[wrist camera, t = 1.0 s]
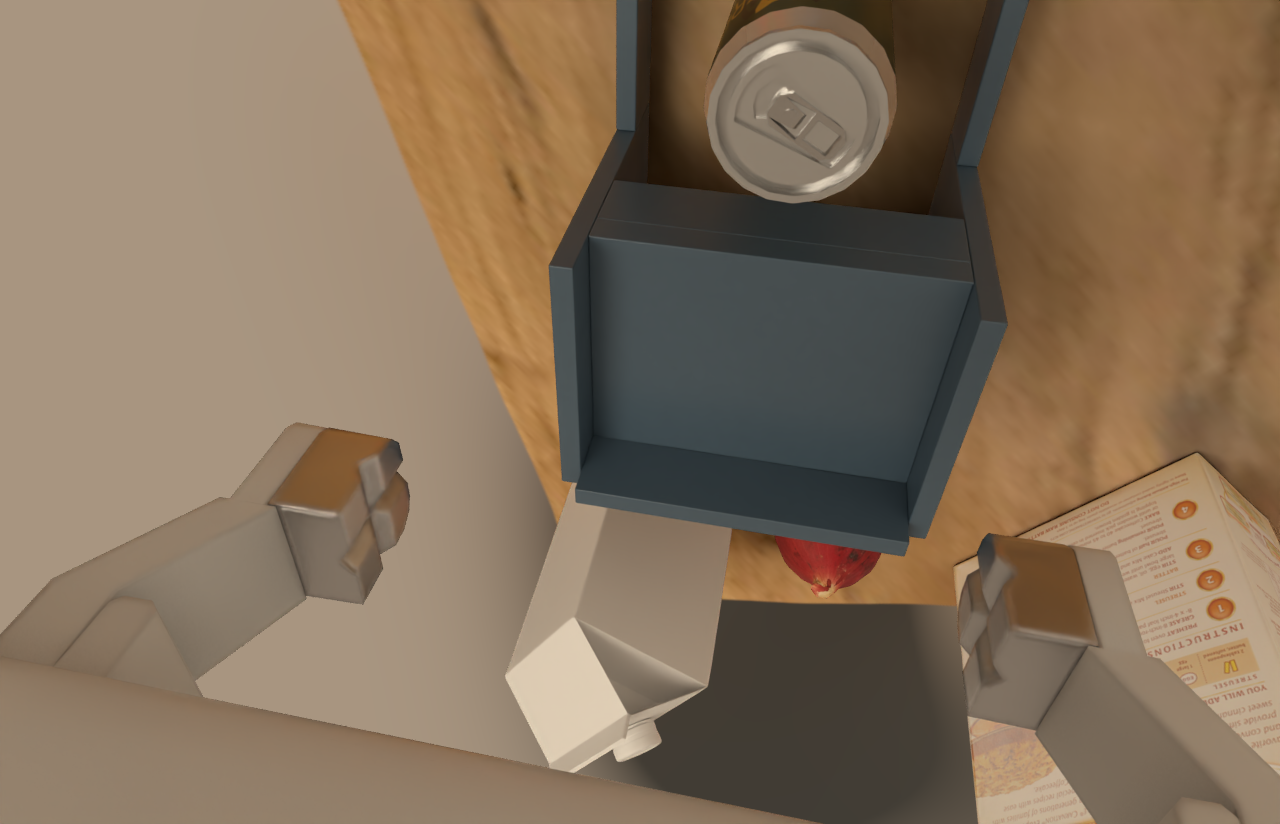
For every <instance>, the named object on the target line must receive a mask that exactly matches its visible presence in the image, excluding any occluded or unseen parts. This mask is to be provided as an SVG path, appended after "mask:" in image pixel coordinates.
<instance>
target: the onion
mask: <svg viewBox="0 0 1280 824" xmlns="http://www.w3.org/2000/svg"><path fill="white" fill-rule="evenodd" d="M775 540H776V542H777V545H778V547H779V549H780V552H781V554H782V557H783V559H784V561H785V562H786V564H787V565H788V567H789V568H791V569H792V570H793V571H794V572H795V573H796V574H797V575H798V576H799V577H800V578H801V579H803V580H804V581H806V582H808V583H810V584H812V585H811V590H812V591H813V593H814V594H815V595H816V596H817V598H826V599H827V598H829V597H830V596H831V595H832V594H833V593H835V592H836V591H837V590H838V589H840V588H844V587H848V586H851V585H853V584H855V583H856V582H858V581H859V580H860V579H861V578H863V577H864V576H866V575H867V574H869V573H870V572H871V570H872V569H873V568H874V567H875V565H876V563H877V561H878V559H879V557H880V555H881V553H880V552H873V551H867V550H861V549H855V548H849V547H843V546H837V545H831V544H825V543H818V542H812V541H806V540H800V539H794V538H788V537H782V536H776V535H775Z"/></svg>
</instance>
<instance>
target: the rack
mask: <svg viewBox="0 0 1280 824" xmlns="http://www.w3.org/2000/svg"><path fill="white" fill-rule="evenodd" d="M1028 3H1029V0H988V1H987V5H986V9H985V12H984V16H983V20H982V23H981V27H980V30H979V34H978V38H977V41H976V45H975V48H974V52H973V56H972V59H971V63H970V66H969V70H968V74H967V77H966V81H965V85H964V88H963V92H962V95H961V99H960V103H959V106H958V110H957V113H956V117H955V121H954V124H953V128H952V133H951V135H950V138H949V142H948V146H947V149H946V153H945V156H944V160H943V164H942V167H941V171H940V175H939V178H938V182H937V185H936V189H935V193H934V196H933V200H932V203H931V207H930V211H929V214H928V215H921V214H912V213H903V212H894V211H885V210H877V209H868V208H859V207H850V206H841V205H832V204H823V203H814V202H800V203H787V202H781V201H775V200H769V199H765V198H763V197H761V196H752V195H744V194H735V193H726V192H717V191H708V190H699V189H690V188H682V187H673V186H664V185H655V184H647V175H648V138H649V99H650V63H651V26H652V0H617V38H616V128H617V131H616V133H615V135H614V137H613V139H612V141H611V143H610V145H609V147H608V149H607V151H606V153H605V155H604V157H603V159H602V161H601V163H600V165H599V167H598V169H597V171H596V173H595V175H594V177H593V179H592V181H591V183H590V185H589V187H588V188H587V190H586V192H585V194H584V196H583V198H582V200H581V202H580V204H579V206H578V208H577V210H576V212H575V214H574V216H573V218H572V220H571V222H570V224H569V226H568V228H567V230H566V232H565V234H564V236H563V238H562V240H561V242H560V244H559V246H558V248H557V250H556V252H555V254H554V256H553V258H552V260H551V262H550V264H549V277H550V293H551V310H552V326H553V342H554V358H555V374H556V390H557V406H558V422H559V438H560V455H561V471H562V481H567V482H573V483H577V484H576V487H575V502H576V503H580V504H586V505H592V506H598V507H604V508H611V509H617V510H623V511H629V512H635V513H641V514H647V515H653V516H659V517H666V518H672V519H678V520H684V521H690V522H696V523H702V524H708V525H715V526H721V527H727V528H733V529H739V530H745V531H751V532H757V533H763V534H770V535H776V536H782V537H788V538H794V539H800V540H806V541H812V542H818V543H825V544H831V545H837V546H843V547H849V548H855V549H861V550H867V551H873V552H880V553H886V554H892V555H898V556H905V553H906V551H907V548H908V545H909V536H910V537H916V538H923V539H925V538H926V536H927V533H928V531H929V528H930V526H931V523H932V520H933V518H934V515H935V513H936V510H937V507H938V505H939V502H940V500H941V497H942V494H943V492H944V489H945V487H946V484H947V481H948V479H949V476H950V474H951V471H952V468H953V466H954V463H955V461H956V458H957V456H958V453H959V450H960V448H961V445H962V443H963V440H964V437H965V435H966V432H967V430H968V427H969V424H970V422H971V419H972V417H973V414H974V411H975V409H976V406H977V404H978V401H979V398H980V396H981V393H982V391H983V388H984V385H985V383H986V380H987V378H988V375H989V372H990V370H991V367H992V365H993V362H994V359H995V357H996V354H997V352H998V349H999V346H1000V344H1001V341H1002V339H1003V336H1004V333H1005V331H1006V328H1007V326H1008V322H1007V317H1006V312H1005V307H1004V302H1003V297H1002V292H1001V287H1000V282H999V276H998V271H997V266H996V261H995V256H994V251H993V246H992V241H991V236H990V230H989V225H988V220H987V215H986V210H985V205H984V200H983V195H982V190H981V184H980V179H979V174H978V169H977V167H978V165H979V162H980V159H981V155H982V152H983V149H984V146H985V142H986V139H987V136H988V133H989V129H990V126H991V123H992V120H993V116H994V113H995V110H996V107H997V103H998V100H999V97H1000V94H1001V90H1002V87H1003V84H1004V81H1005V77H1006V74H1007V71H1008V68H1009V64H1010V61H1011V58H1012V55H1013V51H1014V48H1015V45H1016V42H1017V38H1018V35H1019V32H1020V29H1021V25H1022V22H1023V19H1024V16H1025V12H1026V9H1027V6H1028Z"/></svg>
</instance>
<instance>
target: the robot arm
mask: <svg viewBox="0 0 1280 824" xmlns="http://www.w3.org/2000/svg"><path fill="white" fill-rule="evenodd" d="M402 461H403V458H402V454H401V450H400V445H399V443H398V442H396V441H394V440H392V439H388V438H382V437H377V436H372V435H366V434H361V433H355V432H350V431H345V430H339V429H334V428H324V427H319V426H313V425H308V424H302V423H295V424H293V425H290V426H288V427H287V428H286V429H285V430H284V432H282V434H281V435H280V436H279V437H278V439H277V440H276V441H275V442H274V444H273V445H272V446H271V448H270V449H269V450H268V451H267V453H266V454H265V455H264V456H263V458H262V459H261V460H260V461H259V463H258V464H257V465H256V466H255V468H254V469H253V470H252V471H251V473H250V474H249V475H248V477H247V478H246V479H245V480H244V481H243V483H242V484H241V485H240V486H239V488H238V489H237V490H236V491H235V493H234V494H233V495H232V496H231V498H223V497H219V498H217V499H215V500H213V501H211V502H209V503H207V504H205V505H203V506H201V507H199V508H197V509H195V510H193V511H190V512H188V513H186V514H184V515H182V516H180V517H178V518H176V519H174V520H172V521H170V522H168V523H166V524H164V525H162V526H160V527H158V528H155V529H153V530H151V531H149V532H147V533H145V534H143V535H141V536H139V537H137V538H135V539H133V540H131V541H129V542H127V543H125V544H123V545H120V546H119V547H116V548H114V549H112V550H110V551H108V552H106V553H104V554H102V555H100V556H98V557H96V558H94V559H92V560H90V561H88V562H85V563H84V564H81V565H79V566H78V567H75V568H73V569H71V570H69V571H67V572H65V573H63V574H61V575H59V576H57V577H55V578H53V579H51V580H50V582H49V583H48V584H47V585H46V586H45V587H44V588H43V589H42V590H41V591H40V592H39V593H38V594H37V596H36V597H35V598H34V599H33V600H32V601H31V602H30V603H29V604H28V605H27V606H26V607H25V609H24V610H23V611H22V612H21V613H20V614H19V615H18V616H17V617H16V618H15V619H14V620H13V621H12V622H11V624H10V625H9V626H8V627H7V628H6V629H5V630H4V631H3V632H2V633H1V634H0V824H822V823H817V822H812V821H807V820H802V819H798V818H793V817H788V816H782V815H778V814H772V813H768V812H763V811H758V810H753V809H748V808H743V807H738V806H734V805H728V804H723V803H718V802H713V801H709V800H704V799H699V798H694V797H689V796H684V795H679V794H674V793H669V792H665V791H660V790H655V789H649V788H645V787H639V786H635V785H630V784H625V783H620V782H616V781H611V780H606V779H600V778H596V777H591V776H586V775H581V774H576V773H571V772H567V771H562V770H557V769H552V768H547V767H542V766H537V765H532V764H527V763H522V762H518V761H513V760H508V759H503V758H498V757H493V756H488V755H483V754H478V753H474V752H468V751H463V750H459V749H454V748H449V747H444V746H439V745H434V744H429V743H424V742H420V741H414V740H410V739H405V738H400V737H395V736H390V735H385V734H380V733H376V732H371V731H366V730H361V729H356V728H350V727H346V726H341V725H336V724H331V723H326V722H322V721H317V720H312V719H307V718H302V717H297V716H292V715H287V714H282V713H277V712H273V711H268V710H263V709H258V708H253V707H248V706H243V705H238V704H233V703H228V702H224V701H219V700H214V699H208V698H204V697H203V695H202V693H201V692H200V690H199V688H198V686H197V684H196V682H195V680H197V679H198V678H199V677H201V676H202V675H204V674H205V673H206V672H208V671H209V670H210V669H212V668H213V667H214V666H216V665H217V664H218V663H220V662H221V661H223V660H224V659H225V658H227V657H228V656H229V655H231V654H232V653H233V652H235V651H236V650H238V649H239V648H240V647H242V646H243V645H244V644H246V643H247V642H249V641H250V640H251V639H253V638H254V637H255V636H257V635H258V634H260V633H261V632H262V631H264V630H265V629H266V628H268V627H269V626H270V625H272V624H273V623H274V622H276V621H277V620H279V619H280V618H281V617H283V616H284V615H285V614H287V613H288V612H290V611H291V610H292V609H293V608H295V607H296V606H298V605H299V604H300V603H302V602H303V601H304V600H306V596H312V597H319V598H325V599H331V600H337V601H344V602H350V603H356V604H364V602H365V600H366V599H367V597H368V595H369V593H370V591H371V590H372V588H373V586H374V584H375V582H376V581H377V578H378V577H379V575H380V573H381V572H382V570H383V566H382V562H381V557H380V554H382V553H383V552H385V551H387V550H388V549H390V548H392V547H393V546H395V545H396V544H397V542H398V540H399V538H400V536H401V534H402V532H403V531H404V528H405V524H406V521H407V517H408V513H409V500H410V494H409V489H408V483H407V482H406V481H405V480H404V479H403V477H402V476H401V475H400V474H399V473H398V472H397V469H398V468H399V466H400V464H401V463H402ZM977 556H978V564H979V569H977V570H975V571H974V572H972V573H970V574H968V575H967V577H966V580H965V583H964V585H963V588H962V591H961V595H960V601H959V607H958V636H959V643H960V645H961V646H962V647H963V648H964V650H965V651H966V652H967V653H968V654H969V658H968V660H967V663H966V665H965V667H964V669H963V671H962V674H963V682H964V690H965V699H966V707H967V715H968V716H969V717H974V718H979V719H983V720H988V721H993V722H998V723H1002V724H1007V725H1012V726H1017V727H1021V728H1026V729H1031V730H1036V732H1035V735H1036V736H1037V738H1038V739H1039V741H1040V742H1041V744H1042V745H1043V746H1044V748H1045V749H1046V751H1047V752H1048V754H1049V755H1050V757H1051V758H1052V760H1053V761H1054V762H1055V764H1056V765H1057V767H1058V768H1059V770H1060V771H1061V773H1062V774H1063V776H1064V777H1065V778H1066V780H1067V781H1068V783H1069V784H1070V786H1071V787H1072V789H1073V790H1074V792H1075V793H1076V794H1077V796H1078V797H1079V799H1080V800H1081V802H1082V803H1083V805H1084V806H1085V807H1086V809H1087V810H1088V812H1089V813H1090V815H1091V816H1092V818H1093V819H1094V821H1095V822H1096V823H1097V824H1280V775H1279V774H1278V773H1277V772H1276V771H1275V770H1274V769H1273V768H1272V767H1271V766H1270V765H1269V764H1268V763H1267V762H1266V761H1264V760H1263V759H1262V758H1261V757H1260V756H1259V755H1258V754H1257V753H1256V752H1255V751H1254V750H1253V749H1252V748H1251V747H1250V746H1249V745H1248V744H1247V743H1246V742H1245V741H1244V740H1243V739H1242V738H1241V737H1240V736H1239V735H1238V734H1237V733H1236V732H1235V731H1234V730H1233V729H1232V728H1231V727H1230V726H1229V725H1228V724H1227V723H1226V722H1224V721H1223V720H1222V719H1221V718H1220V717H1219V716H1218V715H1217V714H1216V713H1215V712H1214V711H1213V710H1212V709H1211V708H1210V707H1209V706H1208V705H1207V704H1206V703H1205V702H1204V701H1203V700H1202V699H1201V698H1200V697H1199V696H1198V695H1197V694H1196V693H1195V692H1194V691H1193V690H1192V689H1191V688H1190V687H1189V686H1188V685H1187V684H1186V683H1185V682H1183V681H1182V680H1181V679H1180V678H1179V677H1178V676H1177V675H1176V674H1175V673H1174V672H1173V671H1172V670H1171V669H1170V668H1169V667H1168V666H1167V665H1166V664H1165V663H1164V662H1163V661H1162V660H1161V659H1160V658H1155V657H1149V656H1147V653H1146V650H1145V647H1144V644H1143V641H1142V637H1141V634H1140V631H1139V628H1138V625H1137V622H1136V619H1135V616H1134V612H1133V609H1132V606H1131V603H1130V600H1129V597H1128V594H1127V590H1126V587H1125V584H1124V581H1123V578H1122V575H1121V572H1120V568H1119V565H1118V562H1117V559H1116V557H1115V556H1114V555H1113V554H1112V553H1111V552H1110V551H1106V550H1100V549H1093V548H1086V547H1079V546H1072V545H1068V546H1066V545H1064V544H1058V543H1051V542H1045V541H1038V540H1031V539H1025V538H1018V537H1011V536H1004V535H998V534H991V533H988V534H987V535H986V536H985V538H984V539H983V540H982V542H981V545H980V547H979V549H978V551H977Z"/></svg>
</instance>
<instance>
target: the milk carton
mask: <svg viewBox="0 0 1280 824" xmlns="http://www.w3.org/2000/svg"><path fill="white" fill-rule="evenodd" d="M576 484H577V483H573V482H572V485H571V487H570V490H569V493H568V496H567V499H566V502H565V505H564V508H563V511H562V514H561V516H560V519H559V522H558V525H557V528H556V531H555V534H554V537H553V540H552V542H551V546H550V548H549V551H548V554H547V557H546V560H545V563H544V566H543V569H542V572H541V574H540V578H539V580H538V583H537V586H536V589H535V592H534V595H533V598H532V600H531V603H530V606H529V609H528V612H527V615H526V618H525V621H524V624H523V626H522V630H521V632H520V635H519V638H518V641H517V644H516V647H515V650H514V653H513V655H512V658H511V661H510V664H509V667H508V670H507V673H506V676H505V678H506V680H507V682H508V684H509V686H510V688H511V690H512V691H513V694H514V696H515V697H516V699H517V701H518V703H519V705H520V707H521V709H522V711H523V713H524V715H525V717H526V719H527V721H528V723H529V725H530V727H531V729H532V731H533V733H534V735H535V737H536V739H537V741H538V742H539V745H540V746H541V748H542V750H543V752H544V754H545V756H546V758H547V760H548V762H549V764H550V766H549V768H552V769H557V770H562V771H567V772H571V773H574V772H576V771H577V770H579V769H581V768H582V767H584V766H586V765H587V764H589V763H591V762H592V761H594V760H595V759H597V758H599V757H600V756H602V755H604V754H605V753H607V752H608V751H610V750H612V749H613V750H614V755H615V757H616V760H617V761H618V762H622V761H625V760H628V759H630V758H633V757H635V756H637V755H640V754H642V753H644V752H646V751H648V750H650V749H652V748H654V747H656V746H657V745H659V744H660V743H661V738H660V735H659V733H658V732H657V729H656V726H655V723H654V722H653V721H654V720H655V719H657V718H658V717H660V716H662V715H663V714H665V713H666V712H668V711H669V710H671V709H673V708H674V707H676V706H678V705H680V704H681V703H683V702H684V701H686V700H688V699H689V698H691V697H692V696H694V695H696V694H697V693H698V692H700V691H702V690H703V689H705V688H706V687H707V686H708V682H709V677H710V671H711V665H712V658H713V652H714V645H715V638H716V632H717V626H718V619H719V612H720V606H721V599H722V593H723V586H724V579H725V573H726V566H727V560H728V553H729V546H730V540H731V533H732V528H727V527H721V526H715V525H708V524H702V523H696V522H690V521H684V520H678V519H672V518H666V517H659V516H653V515H647V514H641V513H635V512H629V511H623V510H617V509H611V508H604V507H598V506H592V505H586V504H580V503H576V502H575V487H576Z"/></svg>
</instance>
